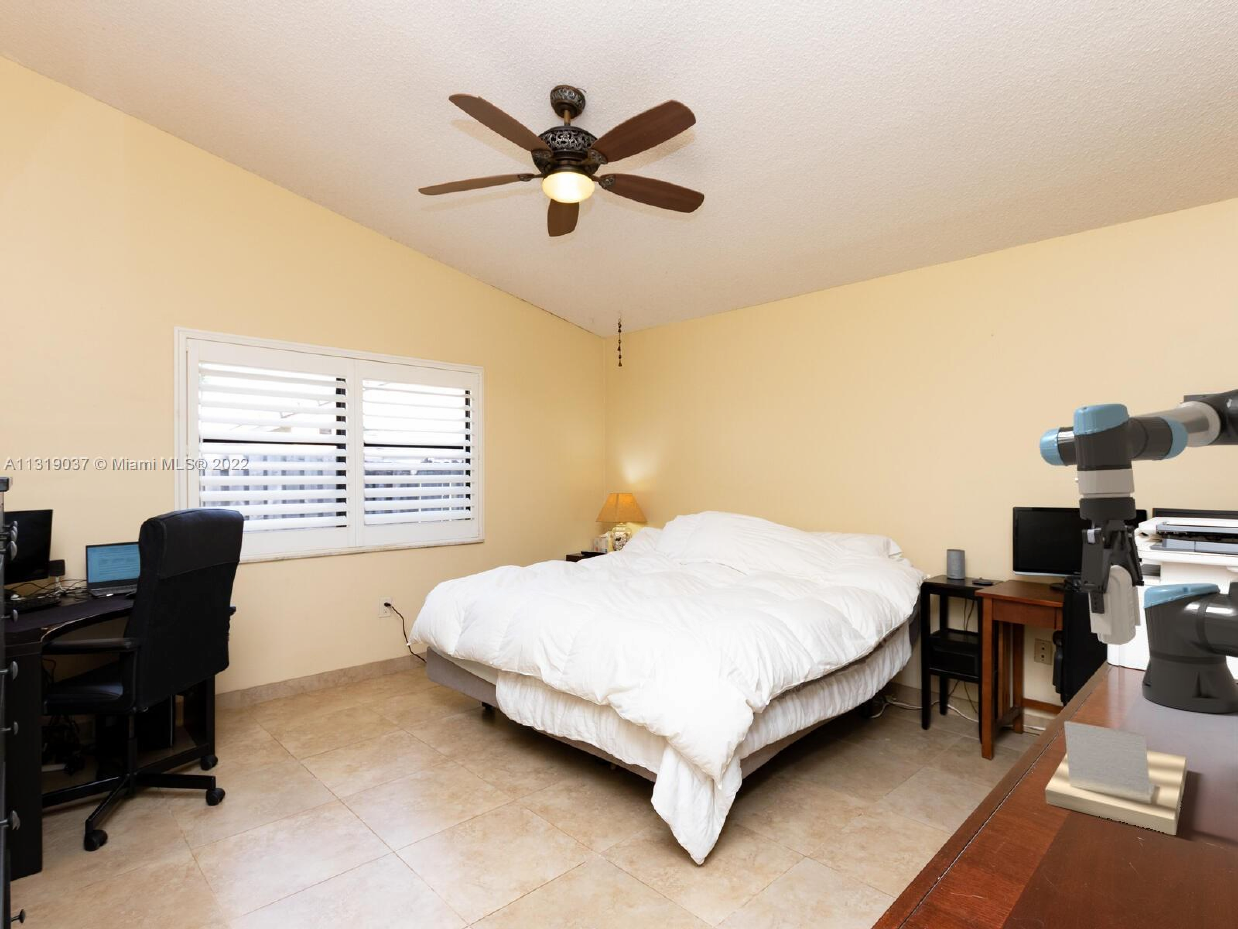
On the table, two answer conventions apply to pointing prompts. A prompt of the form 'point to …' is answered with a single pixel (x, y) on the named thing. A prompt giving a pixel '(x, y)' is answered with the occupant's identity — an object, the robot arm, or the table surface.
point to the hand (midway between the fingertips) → (1116, 628)
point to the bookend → (1108, 762)
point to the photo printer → (1120, 607)
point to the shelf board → (1155, 816)
